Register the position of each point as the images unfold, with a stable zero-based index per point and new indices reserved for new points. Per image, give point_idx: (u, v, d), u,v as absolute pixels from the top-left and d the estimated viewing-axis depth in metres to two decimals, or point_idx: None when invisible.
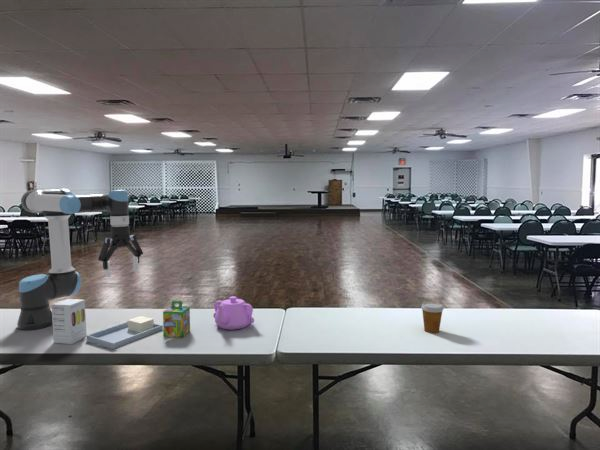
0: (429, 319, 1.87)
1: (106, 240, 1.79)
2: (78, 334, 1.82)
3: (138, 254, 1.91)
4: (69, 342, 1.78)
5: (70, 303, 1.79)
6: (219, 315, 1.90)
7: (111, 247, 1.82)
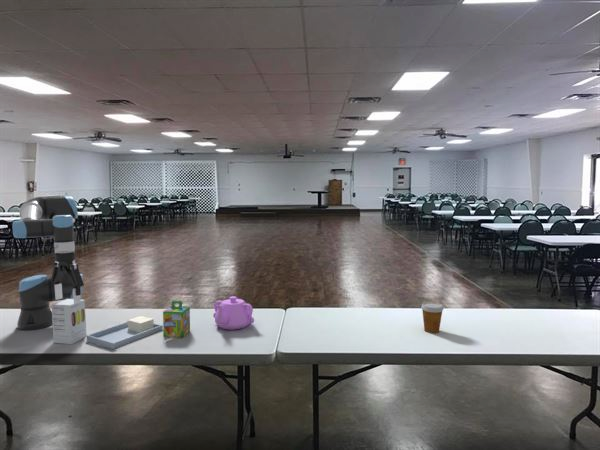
0: (429, 319, 1.87)
1: None
2: (78, 334, 1.82)
3: (74, 286, 1.76)
4: (69, 342, 1.78)
5: (70, 303, 1.79)
6: (219, 315, 1.90)
7: None
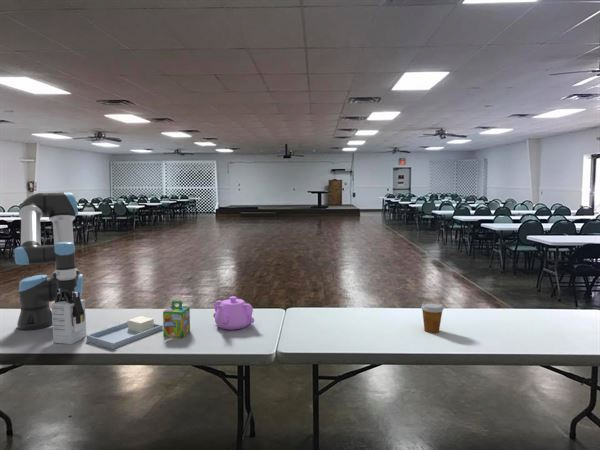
0: (429, 319, 1.87)
1: None
2: (78, 334, 1.82)
3: (75, 314, 1.78)
4: (69, 342, 1.78)
5: None
6: (219, 315, 1.90)
7: None
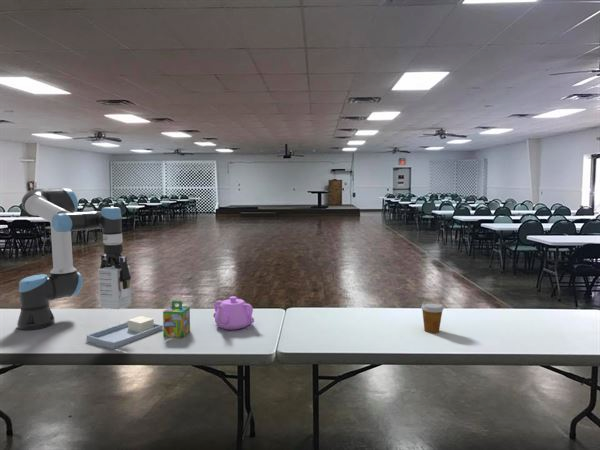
0: (429, 319, 1.87)
1: None
2: (124, 300, 1.81)
3: (122, 279, 1.77)
4: (116, 307, 1.77)
5: None
6: (219, 315, 1.90)
7: None
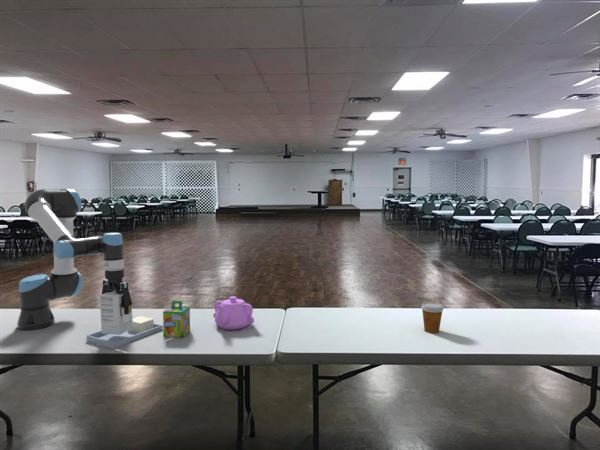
0: (429, 319, 1.87)
1: None
2: (126, 325, 1.82)
3: (123, 305, 1.78)
4: (118, 333, 1.78)
5: (118, 294, 1.79)
6: (219, 315, 1.90)
7: None
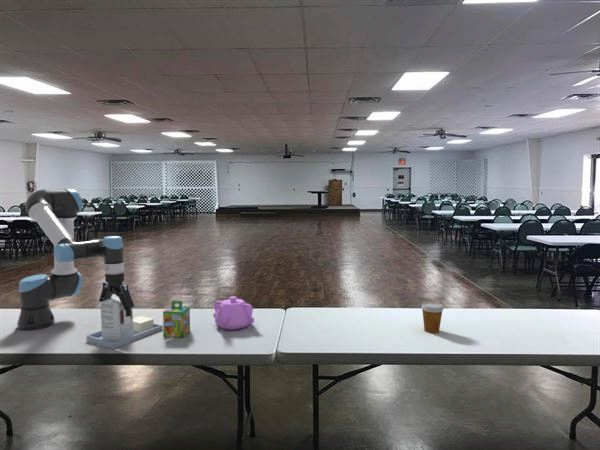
0: (429, 319, 1.87)
1: None
2: (126, 332, 1.82)
3: (125, 307, 1.78)
4: (117, 340, 1.79)
5: (118, 301, 1.80)
6: (219, 315, 1.90)
7: None
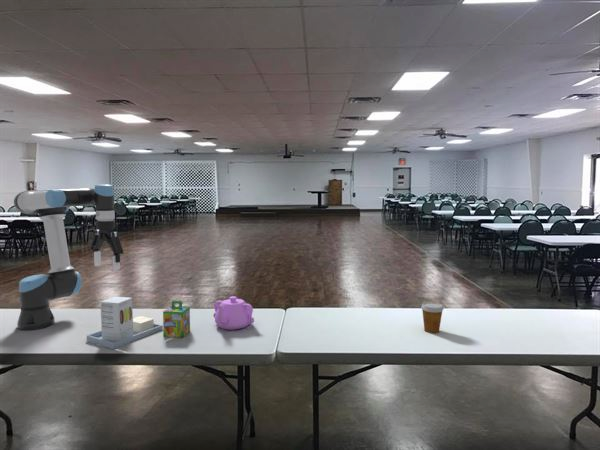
0: (429, 319, 1.87)
1: None
2: (126, 332, 1.82)
3: (115, 253, 1.82)
4: (117, 340, 1.79)
5: (118, 301, 1.80)
6: (219, 315, 1.90)
7: None
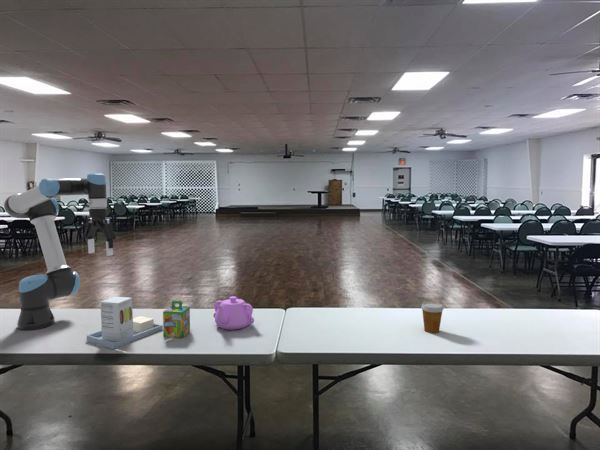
0: (429, 319, 1.87)
1: None
2: (126, 332, 1.82)
3: None
4: (117, 340, 1.79)
5: (118, 301, 1.80)
6: (219, 315, 1.90)
7: None
